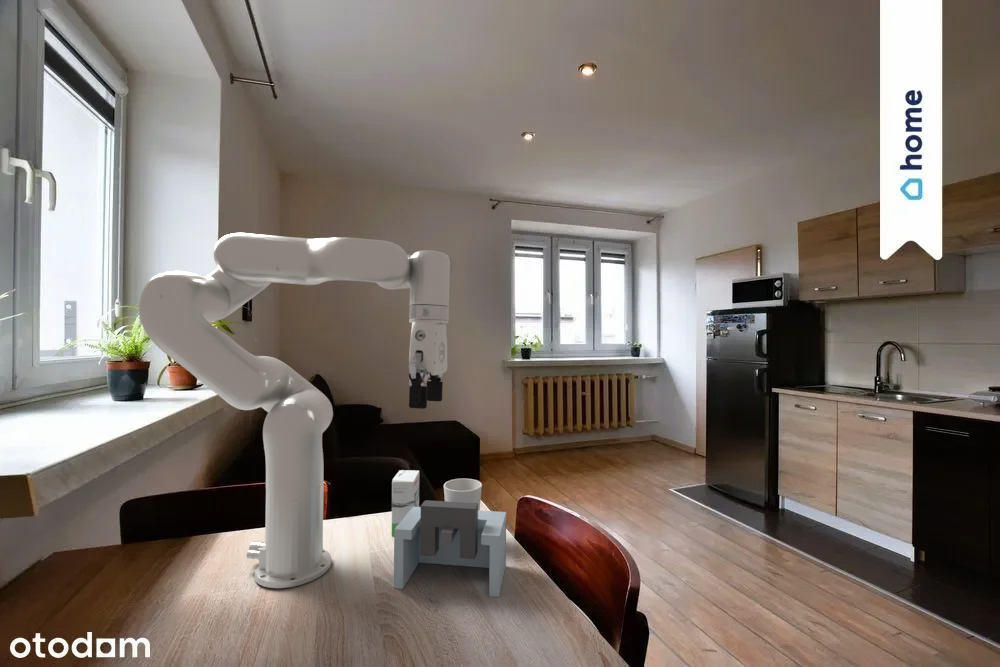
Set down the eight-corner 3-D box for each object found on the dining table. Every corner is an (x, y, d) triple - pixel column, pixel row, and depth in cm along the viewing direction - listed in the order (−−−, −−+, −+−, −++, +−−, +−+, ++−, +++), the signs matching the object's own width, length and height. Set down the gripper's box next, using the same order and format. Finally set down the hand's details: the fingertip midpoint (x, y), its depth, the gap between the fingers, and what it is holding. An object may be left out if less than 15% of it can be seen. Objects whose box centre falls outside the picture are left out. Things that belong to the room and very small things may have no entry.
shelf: (393, 588, 74) (394, 529, 74) (412, 558, 84) (413, 506, 84) (498, 597, 72) (499, 536, 72) (505, 565, 81) (506, 512, 82)
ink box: (413, 536, 93) (414, 481, 93) (390, 536, 93) (391, 481, 93) (419, 519, 102) (420, 469, 102) (398, 519, 102) (398, 469, 102)
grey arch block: (477, 551, 76) (478, 503, 77) (474, 559, 74) (475, 509, 74) (424, 548, 78) (425, 500, 78) (420, 555, 75) (420, 505, 75)
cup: (475, 553, 86) (476, 492, 86) (437, 549, 88) (438, 489, 88) (485, 535, 94) (485, 480, 94) (449, 532, 95) (450, 477, 95)
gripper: (434, 313, 75) (431, 412, 75) (458, 318, 92) (456, 399, 92) (392, 312, 76) (389, 410, 76) (424, 317, 93) (422, 397, 93)
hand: (426, 404), depth 84 cm, fingers open, 9 cm apart
